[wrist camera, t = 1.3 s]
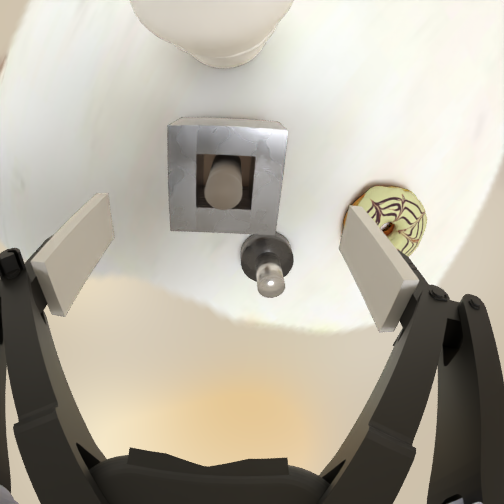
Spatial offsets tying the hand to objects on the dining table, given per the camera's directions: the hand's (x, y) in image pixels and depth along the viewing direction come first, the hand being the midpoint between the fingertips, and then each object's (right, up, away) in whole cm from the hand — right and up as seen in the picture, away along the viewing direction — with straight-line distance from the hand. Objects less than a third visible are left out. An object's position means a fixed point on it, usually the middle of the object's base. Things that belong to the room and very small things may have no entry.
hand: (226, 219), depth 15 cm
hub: (+3, -2, +20) cm, 20 cm away
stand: (-1, +9, +13) cm, 16 cm away
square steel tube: (-1, +6, +9) cm, 11 cm away
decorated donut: (+17, +2, +19) cm, 25 cm away
